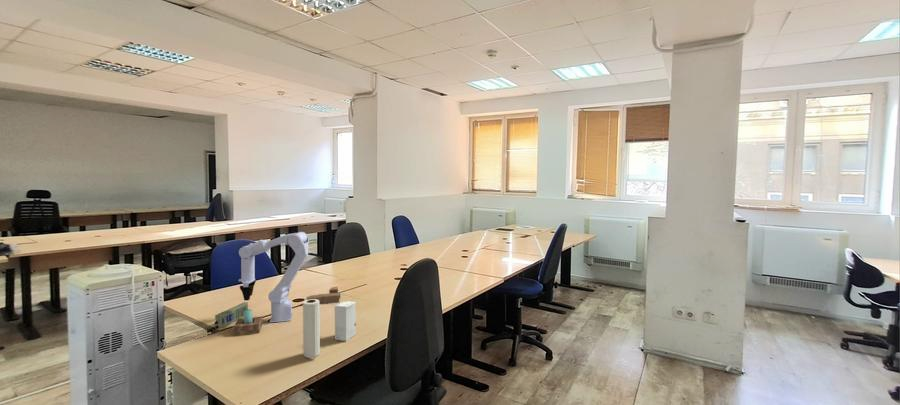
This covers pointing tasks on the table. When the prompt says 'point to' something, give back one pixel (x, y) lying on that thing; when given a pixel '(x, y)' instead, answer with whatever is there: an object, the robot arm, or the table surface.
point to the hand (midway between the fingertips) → (248, 297)
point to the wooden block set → (327, 296)
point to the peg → (247, 316)
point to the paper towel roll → (311, 328)
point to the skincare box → (345, 320)
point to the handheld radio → (229, 316)
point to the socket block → (248, 326)
